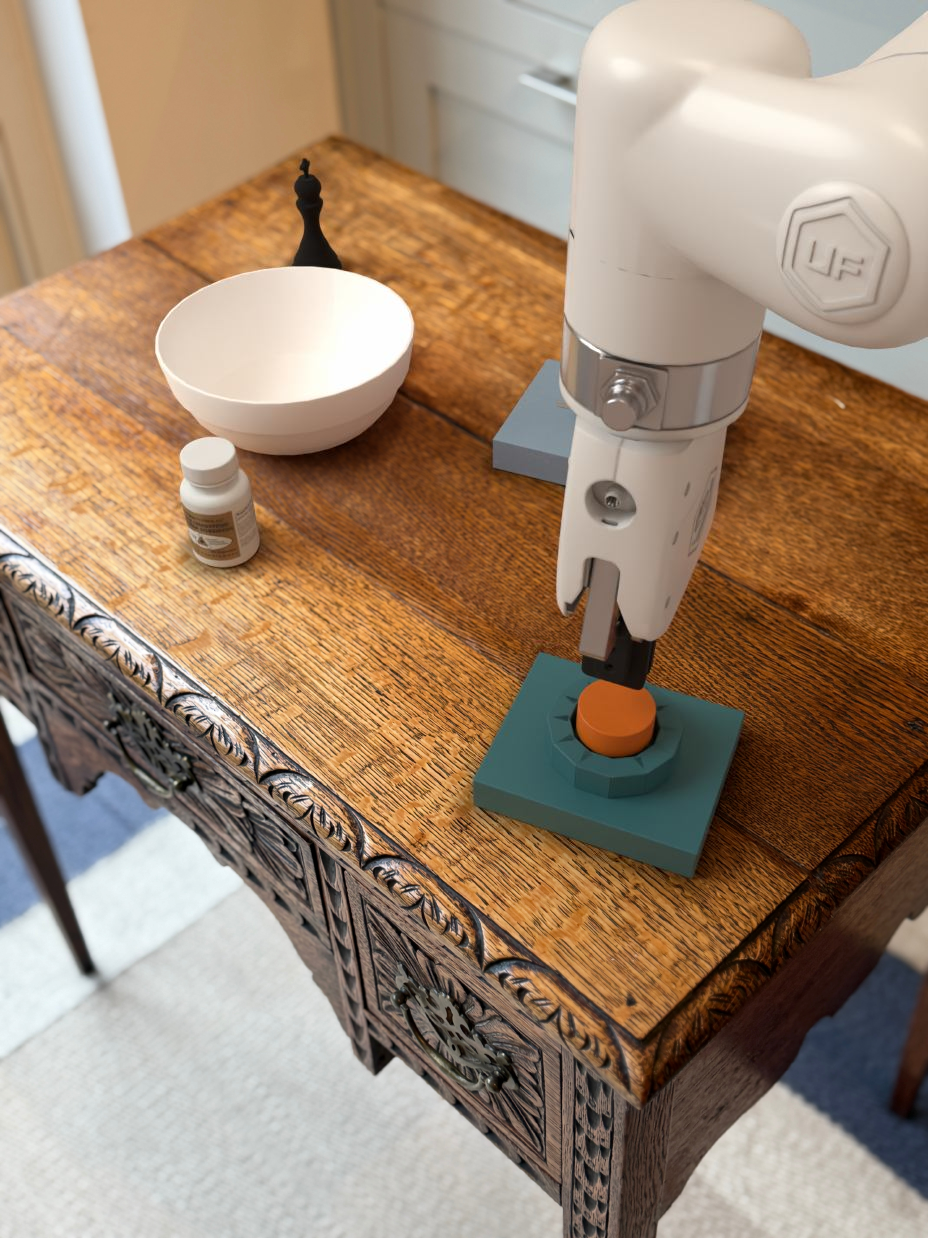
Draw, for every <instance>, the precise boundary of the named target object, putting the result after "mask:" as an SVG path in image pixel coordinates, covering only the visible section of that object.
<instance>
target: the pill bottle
mask: <svg viewBox="0 0 928 1238" xmlns="http://www.w3.org/2000/svg"><path fill="white" fill-rule="evenodd" d="M236 449H237V448H236V446H234V445H233V444H232V443H231V442H230V441H228V440H226V439H224V438H220V437H218V436H205V437H201V438H197V439H194V440H192V441H190V442H189V443H187V444H185V446H184V447H183V448H181V451H180V452H179V463H180V467H181V472H182V475H183V479H182V481H181V483H180V486H179V498H180V503H181V507H182V511H183V515H184V519H185V522H186V527H187V532H188V536H189V539H190V544H191V547H192V548H191V549H192V552H193V554H194V556H195V557H196V559H197V560H198V561H199V562H201V563H203V564H205V565H208V566H209V567H210V566H211V567H215V568H230V567H235V566H238V565H241V564H244V563H246V562H247V561H248V560H250V559H251V558H252V557H253V556H254V555H255V554H256V553H257V551H258V549H259V547H260V541H261V540H260V539H261V537H260V532H259V526H258V520H257V514H256V509H255V504H254V499H253V493H252V492H253V491H252V488H251V483H250V480H249V477H248V475H247V474H246V473H245V471H244V470H243V469H241V468H240V466H239V465H240V462H239V457H238V454H237V450H236Z"/></svg>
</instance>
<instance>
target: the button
mask: <svg viewBox="0 0 928 1238" xmlns="http://www.w3.org/2000/svg"><path fill="white" fill-rule="evenodd" d="M655 716H656V705H655V702H654V699H653V697H652V696H651V694H650V693H649V692H648V691H647V690H646V689H645V688H644V687H643V688H642V689H641V690H634V689H631V688H627V687H624V686H621V685H617V684H614V683H611V682H608V681H604V680H598V681H595V682H594V683H592V684H590V685H589V686H587V687H586V688H585V689H584V691H583V692H582V693H581V695H580V697H579V700H578V709H577V721H576V729H577V733H578V735H579V737H580V739H581V741H582V742H583V743H584V744H585V745H586V746H587V747H588V748H589V749H591V750H592V751H594V752H596V753H598V754H601V755H604V756H608V757H627V756H631V755H634V754H636V753H638V752H640V751H641V750H643V749H644V748H645V747H646V746H647V745H648V743H649V742H650V740H651V738H652V735H653V729H654V722H655Z"/></svg>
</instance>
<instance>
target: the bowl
mask: <svg viewBox="0 0 928 1238" xmlns="http://www.w3.org/2000/svg"><path fill="white" fill-rule="evenodd" d="M415 329H416V325H415V321H414V317H413V313H412V310H411V309H410V307H409V306H408V305H407V303H406V302H405V300H404V299H403V297H401V295H399V294H398V293H396V292H395V291H394V290H393V289H392V288H391V287H390V286H389V287H388V286H387V285H385V284H384V283H381V282H379V281H377V280H375V279H373V278H370V277H367V276H364V275H362V274H359V273H356V272H352V271H346V270H343V269H342V270H338V269H331V268H321V267H292V266H282V267H281V266H280V267H271V268H264V269H258V270H253V271H248V272H242V273H239V274H235V275H233V276H229V277H227V278H223V279H220V280H218V281H216V282H213V283H211V284H209V285H206V286H204V287H202V288H200V289H198V290H197V291H195V292H193V293H192V294H190V295H188V296H186V297H185V298H183V299H182V300H181V301H180V302H179V303H178V304H177V305H175V306H174V307H173V308H172V309H171V310H169V312H168V313H167V314H166V316H165V317H164V319H163V320H162V321H161V322H160V324H159V326H158V329H157V331H156V334H155V348H154V349H155V350H154V351H155V356H156V359H157V360H158V364H159V366H160V369H161V371H162V373H163V375H164V378H165V379H166V381H167V384H168V385H169V388H170V390H171V393H172V394H173V396H174V398H175V399H176V400H177V401H178V402H179V404H180V405H181V406H182V408H184V409H185V410H186V411H187V412H189V413H190V414H191V415H192V416H193V417H194V419H195V420H196V421H197V423H198V424H199V425H200V426H201V427H203V428H204V429H206V430H207V431H208V432H210V433H211V434H213V435H215V437H220V438H224V439H226V440H228V441H230V442H231V443H232V444H233V445H234V447H237V448H239V449H242V450H244V451H249V452H252V453H257V454H264V455H273V456H296V455H304V454H313V453H317V452H320V451H321V452H322V451H324V450H329V449H332V448H336V447H337V446H340V445H344V443H347V442H349V441H351V440H353V439H355V438H356V437H358V436H360V435H361V434H363V433H364V432H365V431H367V430H368V429H369V428H370V427H372V425H374V423H375V422H376V421H378V419H379V418H380V417H381V416H383V414H384V413H385V412H386V410H387V409H388V408H389V407H390V405H391V404H392V403H393V401H394V398H395V396H396V394H397V393H398V389H400V387H402V385H403V383H404V381H405V380H406V378H407V377H406V376H407V375H408V372H409V370H410V363H411V357H412V350H413V345H414V340H415Z"/></svg>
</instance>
